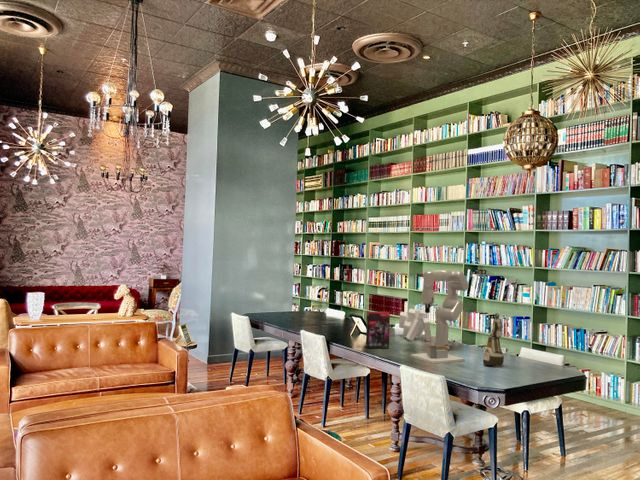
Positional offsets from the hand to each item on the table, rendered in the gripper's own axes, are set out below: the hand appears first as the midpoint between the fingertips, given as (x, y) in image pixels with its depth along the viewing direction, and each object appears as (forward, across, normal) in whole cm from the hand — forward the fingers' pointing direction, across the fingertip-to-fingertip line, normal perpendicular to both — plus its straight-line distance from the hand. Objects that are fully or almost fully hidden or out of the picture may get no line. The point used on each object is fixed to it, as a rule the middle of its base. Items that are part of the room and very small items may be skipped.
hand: (427, 312), depth 374 cm
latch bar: (+22, +22, -7) cm, 32 cm away
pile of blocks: (+29, -50, +28) cm, 64 cm away
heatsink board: (+29, +22, -8) cm, 37 cm away
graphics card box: (+29, -23, -28) cm, 47 cm away
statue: (+29, +50, +16) cm, 60 cm away
